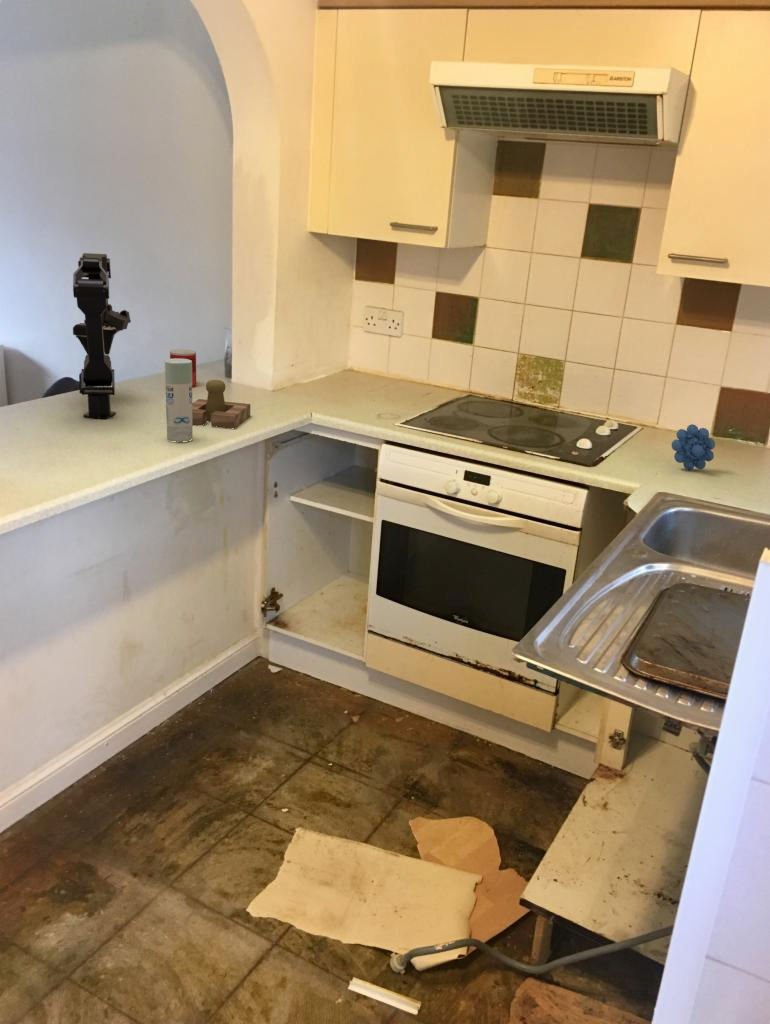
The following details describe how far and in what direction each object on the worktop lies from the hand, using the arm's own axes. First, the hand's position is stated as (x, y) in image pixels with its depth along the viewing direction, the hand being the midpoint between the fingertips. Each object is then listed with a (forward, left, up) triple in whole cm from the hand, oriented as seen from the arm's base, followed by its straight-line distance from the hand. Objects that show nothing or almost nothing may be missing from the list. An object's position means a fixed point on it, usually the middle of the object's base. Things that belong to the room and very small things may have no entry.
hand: (99, 357), depth 245 cm
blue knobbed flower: (-8, -163, -13) cm, 164 cm away
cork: (-6, -36, -13) cm, 39 cm away
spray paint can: (-28, -34, -13) cm, 46 cm away
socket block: (-6, -36, -13) cm, 39 cm away
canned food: (+30, -13, -13) cm, 35 cm away
